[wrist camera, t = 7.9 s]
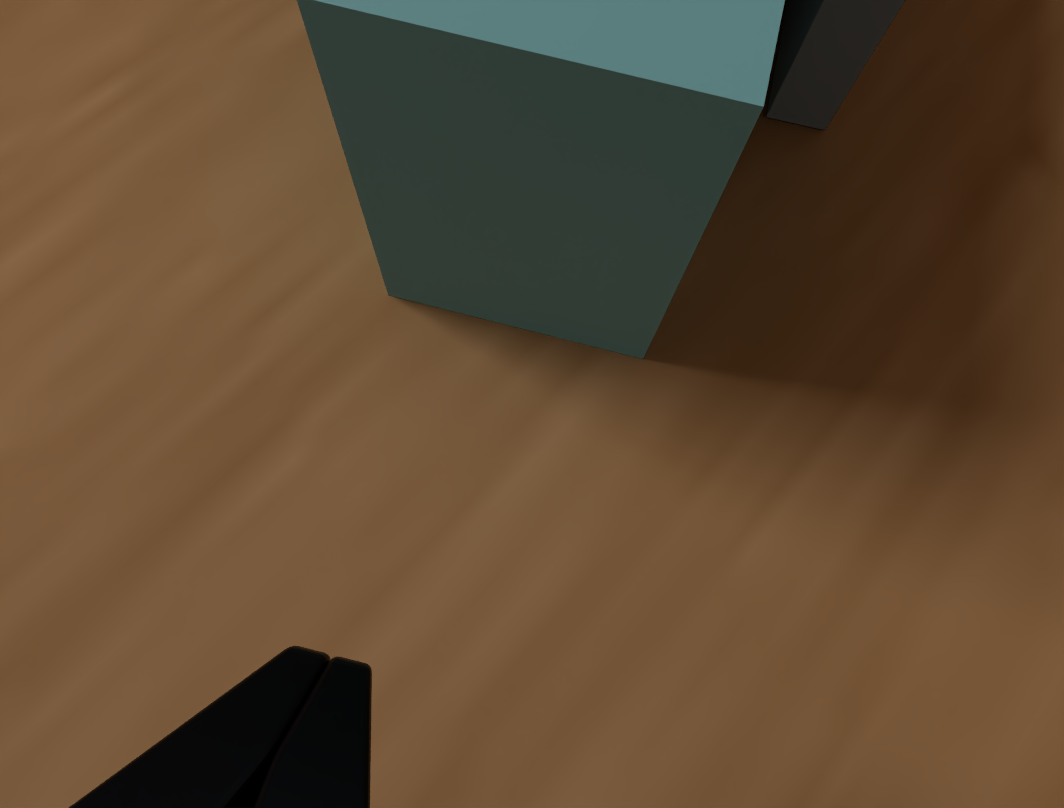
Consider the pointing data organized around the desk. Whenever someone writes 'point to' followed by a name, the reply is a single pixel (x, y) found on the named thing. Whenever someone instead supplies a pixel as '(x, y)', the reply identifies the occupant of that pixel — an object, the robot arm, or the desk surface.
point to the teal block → (543, 147)
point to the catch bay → (824, 55)
